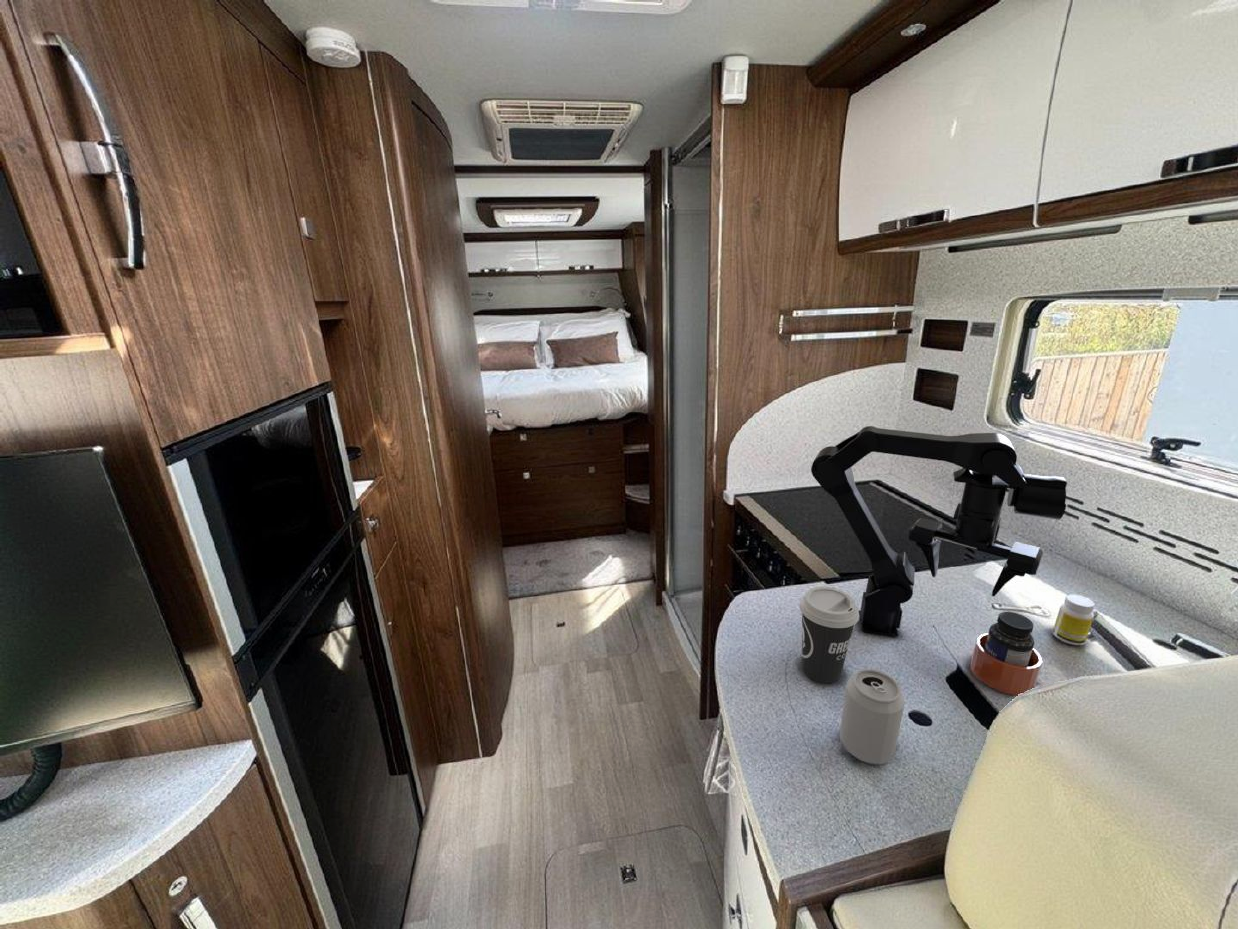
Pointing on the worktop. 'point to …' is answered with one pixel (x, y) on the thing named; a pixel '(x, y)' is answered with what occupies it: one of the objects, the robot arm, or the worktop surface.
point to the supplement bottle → (1074, 620)
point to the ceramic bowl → (1004, 670)
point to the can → (871, 716)
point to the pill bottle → (1011, 639)
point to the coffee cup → (826, 632)
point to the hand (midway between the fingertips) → (962, 585)
